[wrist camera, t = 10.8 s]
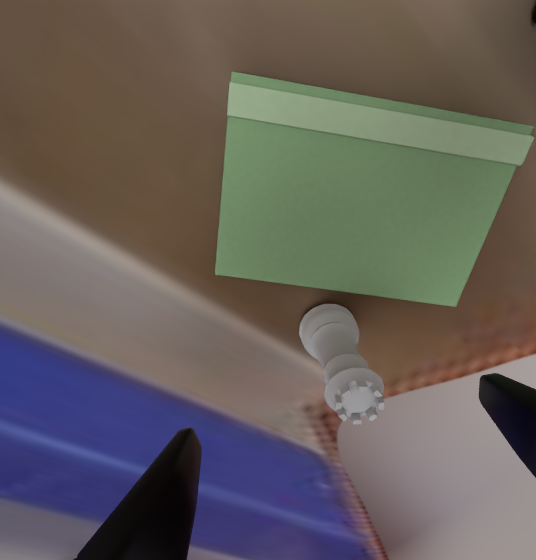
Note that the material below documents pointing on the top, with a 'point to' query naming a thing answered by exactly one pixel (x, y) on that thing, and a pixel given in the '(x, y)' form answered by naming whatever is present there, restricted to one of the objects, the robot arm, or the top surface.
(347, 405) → the rook chess piece
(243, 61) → the top surface
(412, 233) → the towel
